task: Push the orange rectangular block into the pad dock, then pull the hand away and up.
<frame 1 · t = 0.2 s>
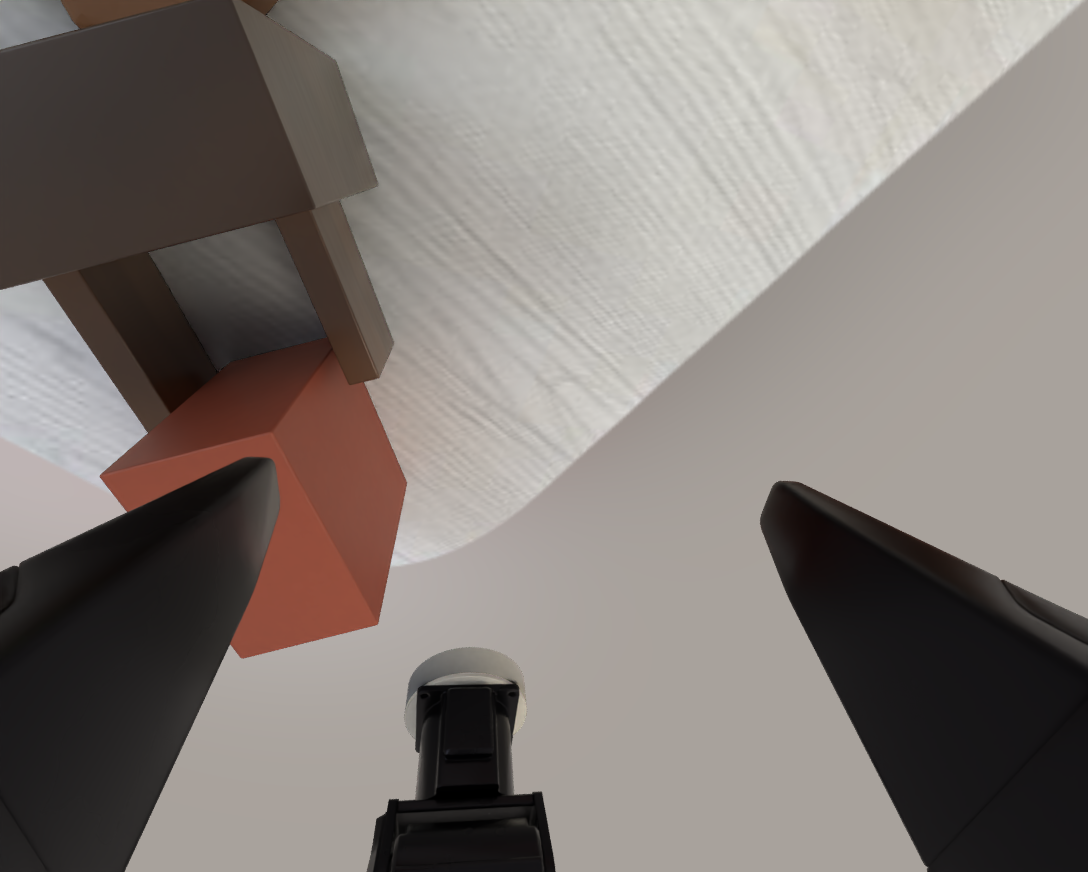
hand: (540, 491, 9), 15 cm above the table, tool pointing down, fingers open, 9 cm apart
pad dock: (239, 251, 20), on the table
orange rectangular block: (325, 427, 24), on the table
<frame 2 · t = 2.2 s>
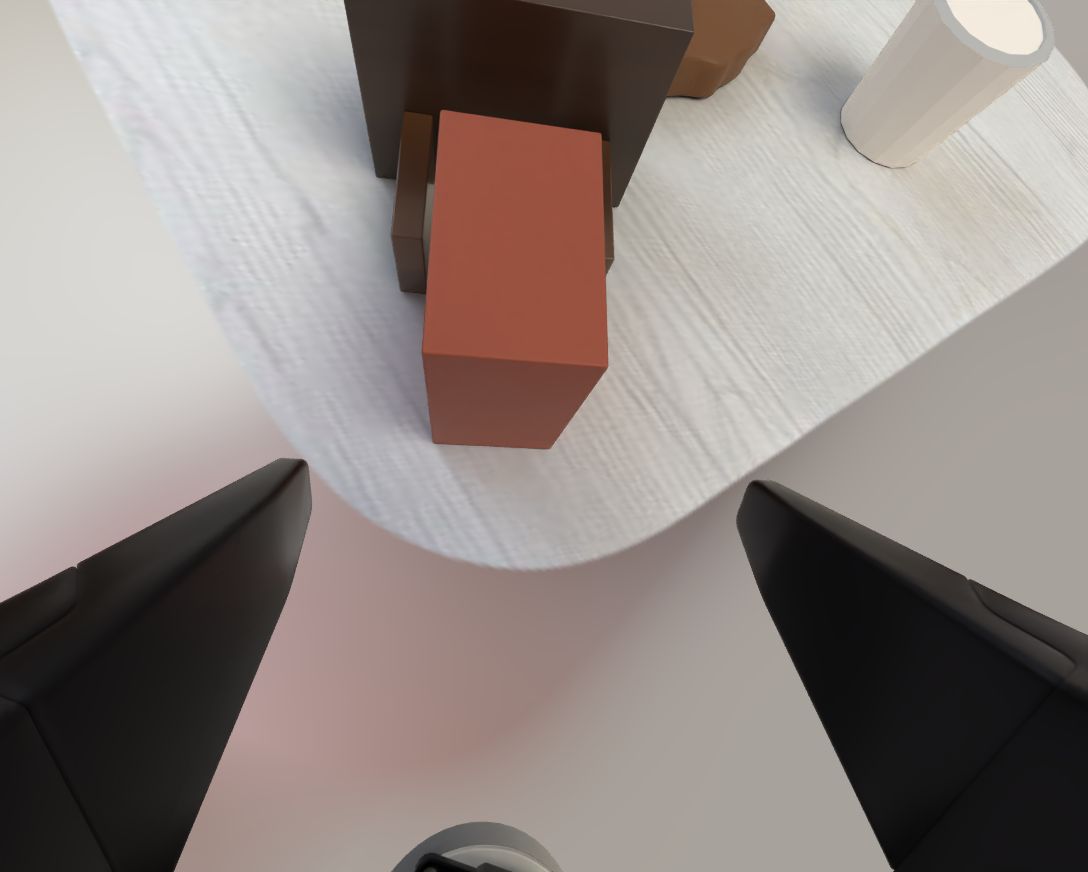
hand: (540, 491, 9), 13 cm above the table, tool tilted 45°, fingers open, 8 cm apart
pad dock: (500, 209, 26), on the table
orange rectangular block: (495, 360, 24), on the table
shot glass: (880, 132, 32), on the table
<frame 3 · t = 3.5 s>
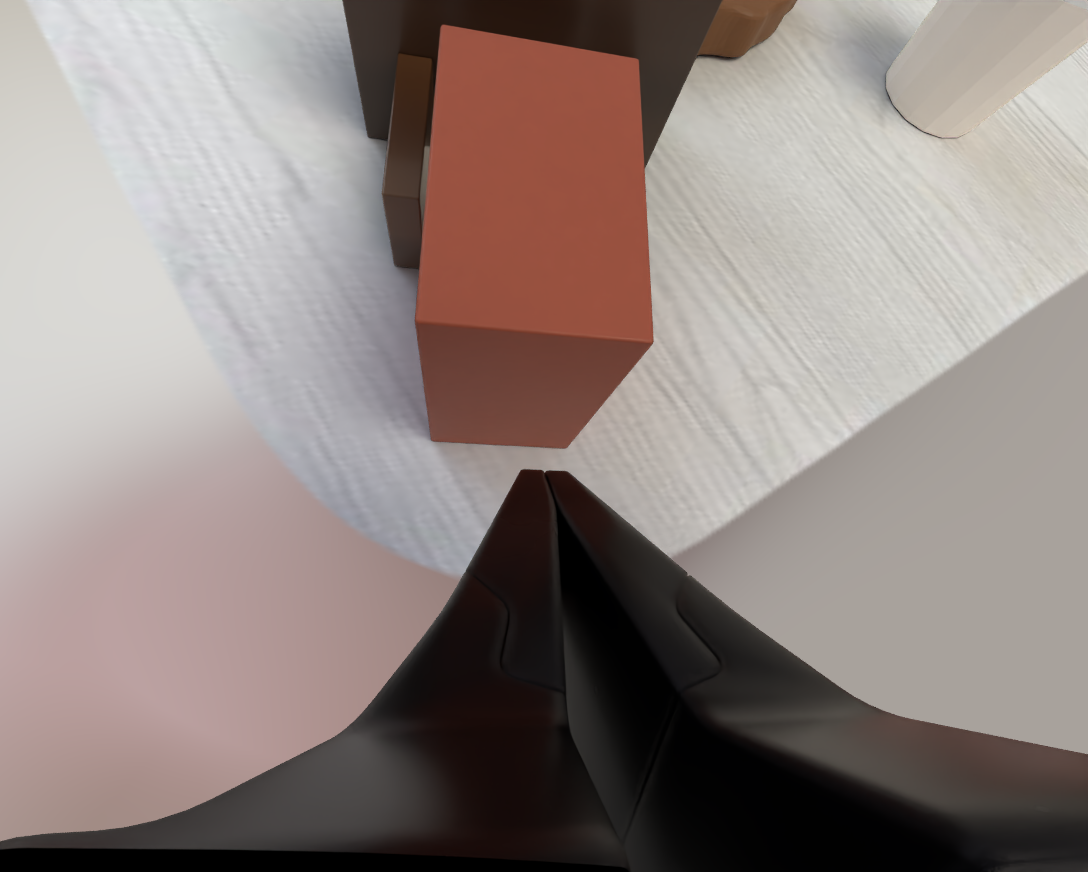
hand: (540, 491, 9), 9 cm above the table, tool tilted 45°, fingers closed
pad dock: (509, 176, 23), on the table
orange rectangular block: (503, 346, 20), on the table
shot glass: (928, 99, 29), on the table
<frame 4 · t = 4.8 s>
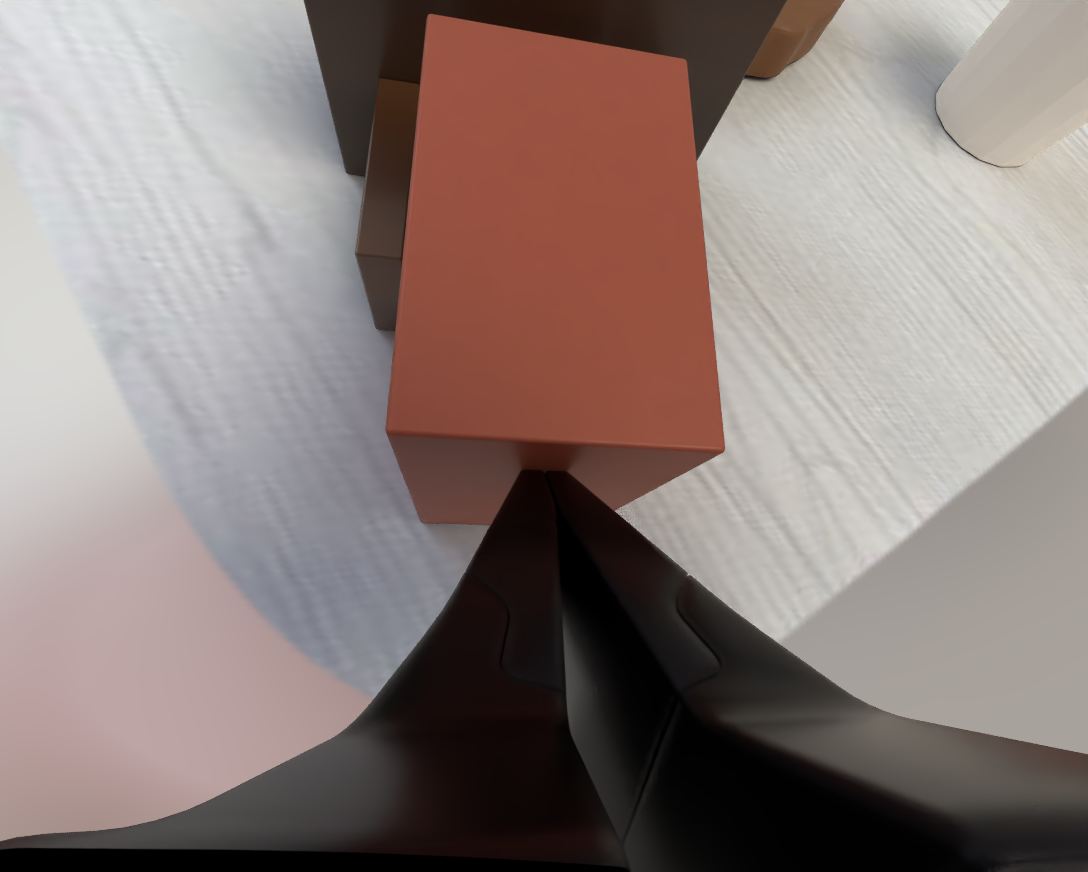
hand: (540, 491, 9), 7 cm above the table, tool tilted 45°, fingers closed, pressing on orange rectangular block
pad dock: (513, 218, 19), on the table
orange rectangular block: (507, 402, 17), on the table, touching gripper
shot glass: (982, 123, 26), on the table
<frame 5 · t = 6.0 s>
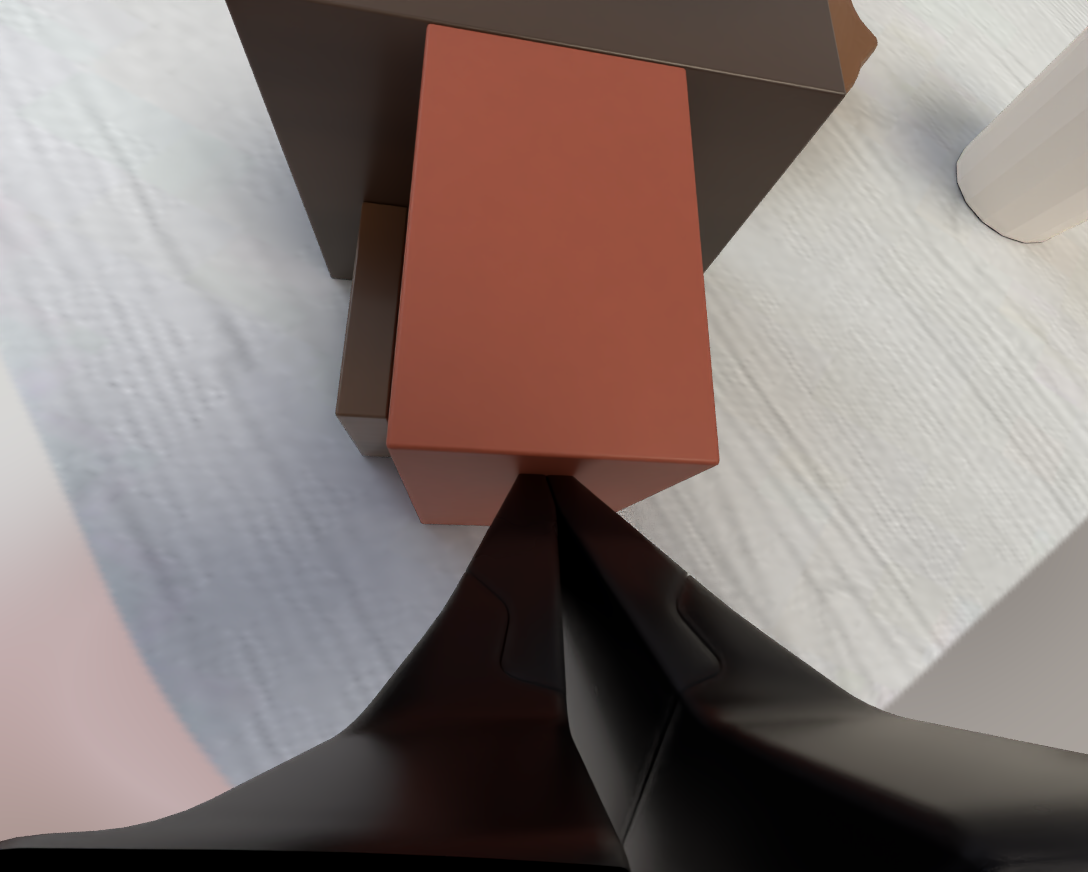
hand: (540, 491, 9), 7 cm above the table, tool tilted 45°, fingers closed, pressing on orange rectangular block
pad dock: (510, 322, 18), on the table
orange rectangular block: (507, 403, 17), on the table, touching gripper, pad dock
shot glass: (1005, 193, 24), on the table
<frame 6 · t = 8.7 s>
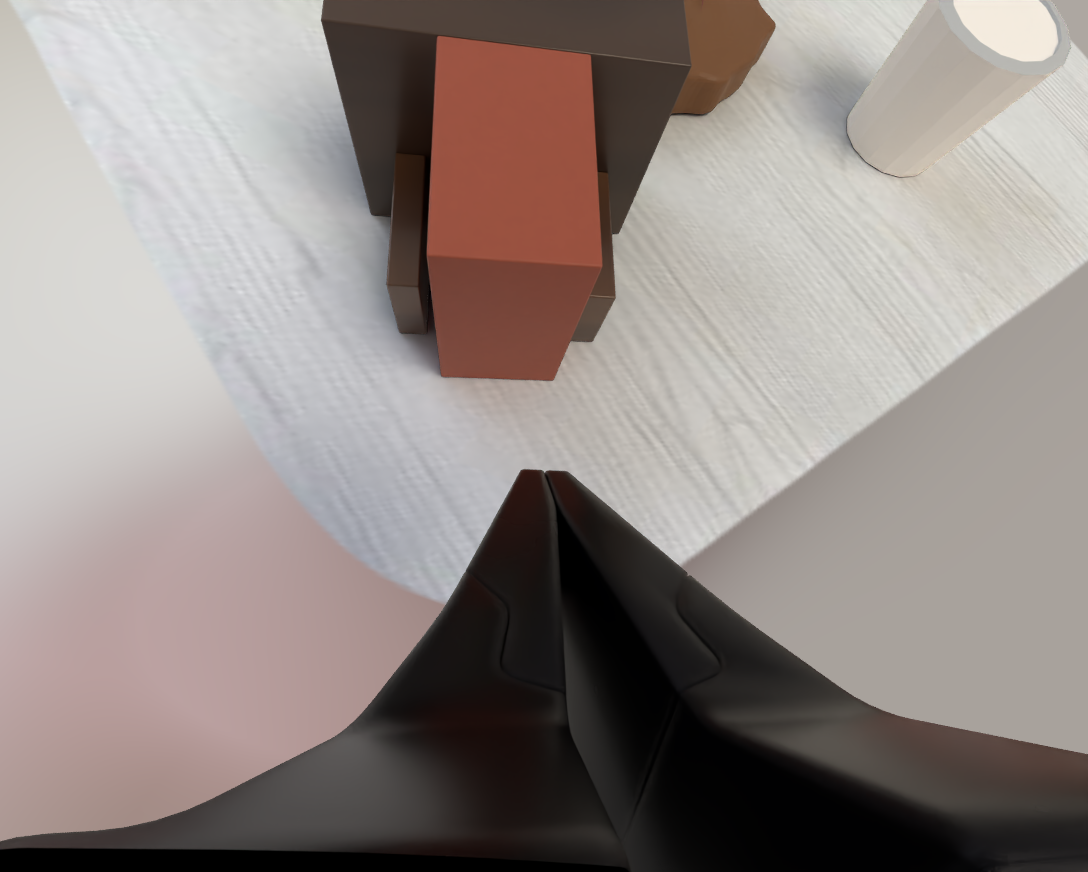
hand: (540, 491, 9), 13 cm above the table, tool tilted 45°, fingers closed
pad dock: (499, 242, 25), on the table
orange rectangular block: (498, 298, 24), on the table, touching pad dock
shot glass: (887, 139, 31), on the table
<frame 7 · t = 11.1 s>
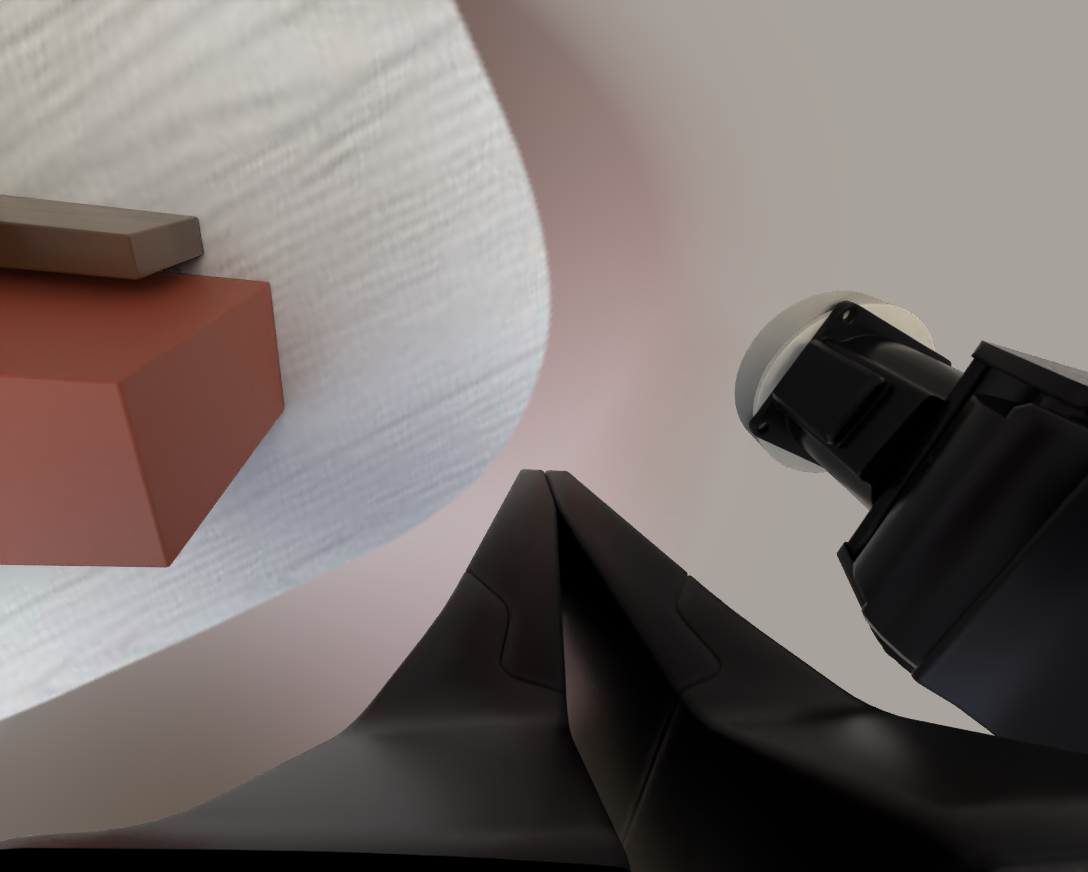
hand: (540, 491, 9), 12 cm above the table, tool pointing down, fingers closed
pad dock: (66, 332, 19), on the table
orange rectangular block: (160, 340, 19), on the table, touching pad dock
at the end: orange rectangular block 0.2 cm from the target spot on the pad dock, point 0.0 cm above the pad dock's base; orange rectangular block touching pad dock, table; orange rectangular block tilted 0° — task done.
